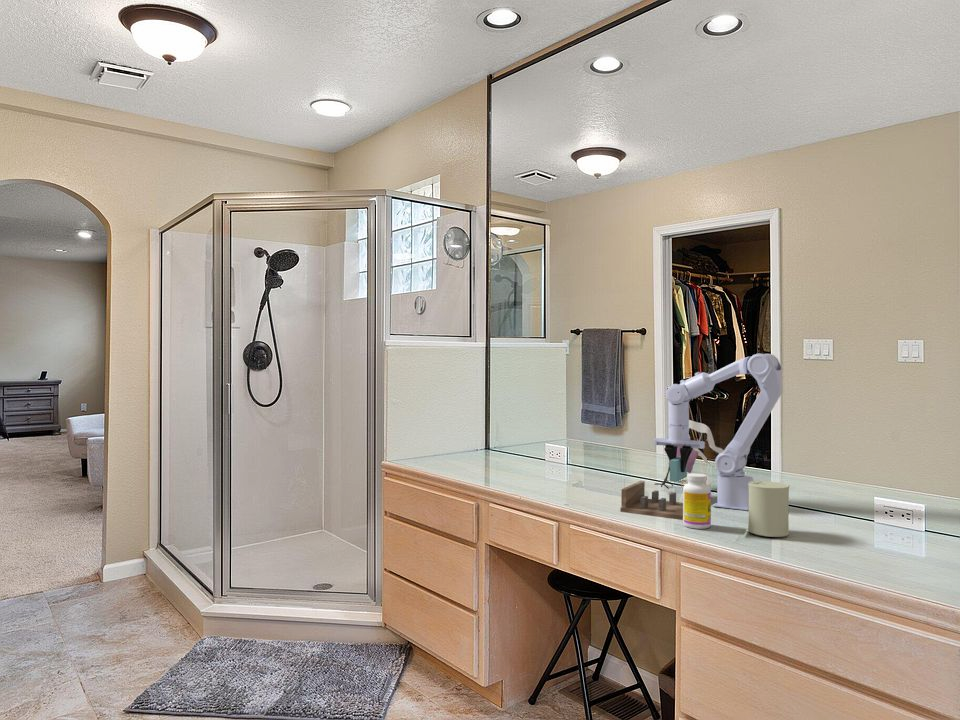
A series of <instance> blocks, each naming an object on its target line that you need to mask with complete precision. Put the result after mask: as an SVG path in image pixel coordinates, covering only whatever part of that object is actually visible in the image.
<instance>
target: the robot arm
mask: <svg viewBox="0 0 960 720" xmlns="http://www.w3.org/2000/svg"><path fill="white" fill-rule="evenodd" d="M782 373H783V367H782V365H781V362H780V361H779V359H778V357H777V356H776V355H774V354H772V353H756V354H755V353H754V354H752V356H747V357H743V358H740V359H737V360H736V361H734V362H732V363H729V364H727V365H725V366H724V367H721V368H720V369H718V370H716V371H713V372H711V373H707V372H705V371H704V372H703V371H702V372H701V371H697V372H695V373H694V376H692V377H690V378H688V379H681V380H680V381H679V382H680V383H679V384H678V383H672V384H671V386H669V387H667V389H666V391H665V397H666V399H667V401H668V438H665V437H664V438H663V437H662V438H661V437H660V438H659V437H655V438H653V446H665V447H664V452H665V453H666V456H667V457H668V462H669V461H670V460H672V459H674V458H676V457H677V448H678V447H682V448H680V455H681V472H685V469H686V465H687V461H688V459H689V456H690V454H691V452H692V450H693V448H697V449H699V450H700V449H701V450H703V449H705V447H706V446H705V445H706V443H705V441H703V440H700V441H699V440H693V439H689V435H690V434H689V433H690V428H689V420H690V409H689V407H690V406H689V405H690V401H691V400H692V399H695V398H698V397H701V396H702V395H704V394H707V393H709V392H712V391H713V390H714V387H715V385H716V384H719V383H721V382H723V381H726V380H729V379H730V378H733V377H736V376H739V375H742V374H743V375H751V376H752V377H753V378H754V379H755V380H756V383H757V385H758V387H759V389H760V392H759V393H758V396H757V397H756V399H755V401H754V402H753V404H752V406H751V408H750V409H749V411H748V413H747V414H746V416H745V417H744V420H743V422H742V423H741V424H740V426H739V428H738V430H737V432H736V433H735V434H734V437H733V438H732V440H731V441H730V442H729V443H728V444H727V446H726V447H725V448H724V449H723V450H724V451H723V452H722V453H720V454H719V453H718V454H717V456H716V457H715V459H714V467H715V468H716V469H717V470H716V471H717V472H716V473H717V474H716V475H717V478H716V479H717V483H716V484H717V485H716V486H717V487H716V488H717V491H716V493H717V496H716V497H717V498H716V499H717V501H715V503H714V504H712V506H713V507H716V508H724V509H731V510H732V509H733V510H741V511H749V485H748V483H749V482H753V481H754V478H753V476H748V475H745V471H744V468H745V467H746V465H747V463H748V462H747V461H748V455H749V454H750V450H751V446H752V445H753V443H754V441H755V439H756V438H757V437H758V435H759V433H760V431H761V429H762V428H763V426H764V424H765V423H766V421H767V420H768V418H769V416H770V414H771V412H772V411H773V409H774V407H775V405H776V404H777V402H778V400H780V398H781V396H782V394H783V378H782V377H783V376H782ZM676 444H683V445H676Z"/></svg>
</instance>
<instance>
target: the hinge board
mask: <svg viewBox="0 0 960 720" xmlns="http://www.w3.org/2000/svg"><path fill="white" fill-rule="evenodd" d="M645 483H646V482H645V481H643V480H639V481H637V482H635V483H633V484H630V485H628V486H626V487H623V488H622V489H621V501H620V503H621V507H620V509H619V510H620V512H622V513H630V514H631V513H632V514H636V515H637V514H638V515H645V516H651V517H661V518H667V519H677V520H682V521H683V502H679V501H677V492H670V493H669V497H668V498H669V499H668V500H667V498H666V497H661V498H660V497H659V496H660V494H659V492H660V491H659V490H654V491H652V492H651V498H649V496H648V495H645V490H646V488H645V485H646V484H645Z"/></svg>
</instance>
